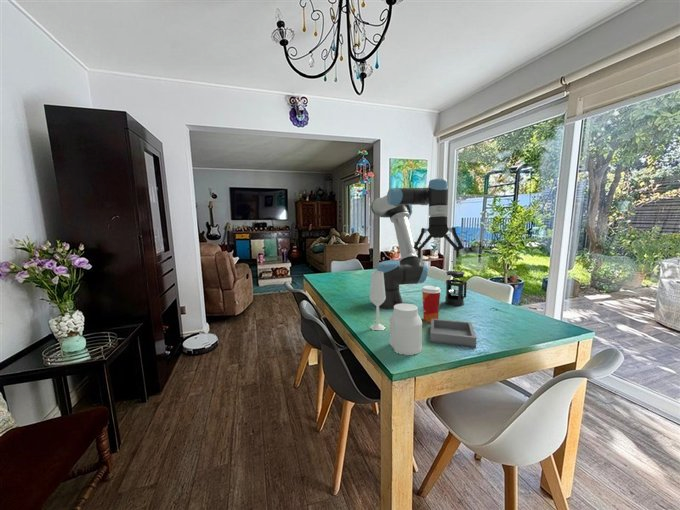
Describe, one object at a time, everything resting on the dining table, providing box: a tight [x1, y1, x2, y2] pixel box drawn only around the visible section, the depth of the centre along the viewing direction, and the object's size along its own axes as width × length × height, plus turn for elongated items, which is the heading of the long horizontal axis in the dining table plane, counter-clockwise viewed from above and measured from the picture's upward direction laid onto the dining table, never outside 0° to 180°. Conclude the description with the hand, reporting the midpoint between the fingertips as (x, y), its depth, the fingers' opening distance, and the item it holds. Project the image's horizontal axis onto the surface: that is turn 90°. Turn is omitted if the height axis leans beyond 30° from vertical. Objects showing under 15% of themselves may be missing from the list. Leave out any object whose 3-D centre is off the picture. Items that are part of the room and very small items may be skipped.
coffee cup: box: [421, 285, 442, 324], centre depth 122 cm, size 8×8×15 cm
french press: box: [444, 260, 467, 307], centre depth 145 cm, size 12×9×23 cm
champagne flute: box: [369, 270, 386, 331], centre depth 115 cm, size 7×7×24 cm
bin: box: [429, 318, 477, 348], centre depth 106 cm, size 15×15×4 cm
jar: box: [389, 302, 423, 356], centre depth 97 cm, size 12×10×15 cm
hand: (437, 265), depth 119 cm, fingers open, 13 cm apart
